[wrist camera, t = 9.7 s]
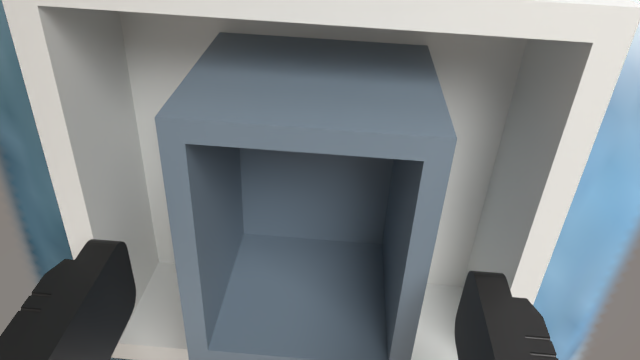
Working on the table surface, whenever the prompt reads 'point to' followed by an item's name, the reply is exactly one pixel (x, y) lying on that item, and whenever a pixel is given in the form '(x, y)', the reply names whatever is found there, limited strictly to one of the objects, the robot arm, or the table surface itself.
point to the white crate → (339, 24)
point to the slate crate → (304, 196)
